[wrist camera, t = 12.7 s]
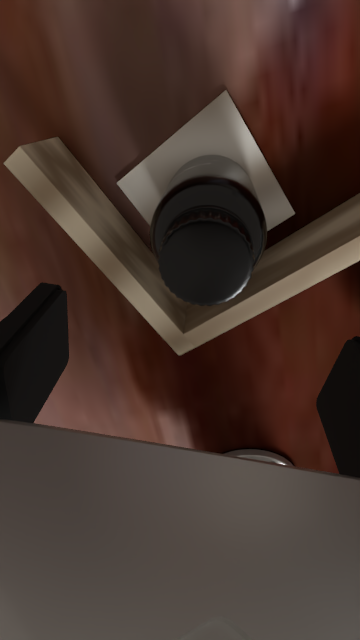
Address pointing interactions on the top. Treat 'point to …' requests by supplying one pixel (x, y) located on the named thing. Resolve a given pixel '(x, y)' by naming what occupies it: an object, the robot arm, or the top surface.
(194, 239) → the supplement bottle
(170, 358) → the top surface
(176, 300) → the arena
